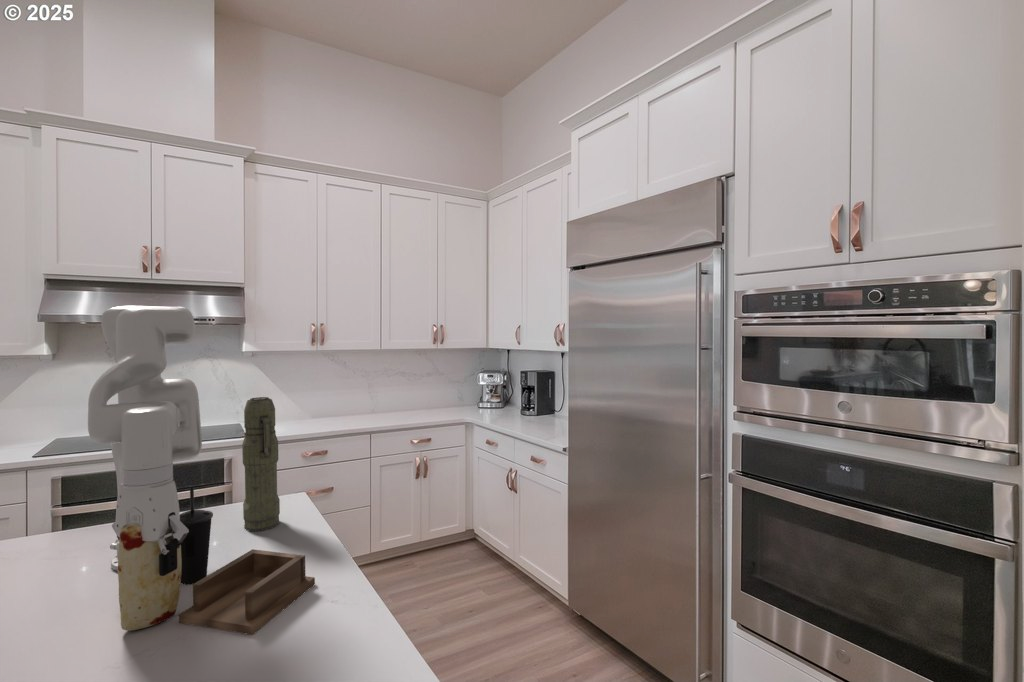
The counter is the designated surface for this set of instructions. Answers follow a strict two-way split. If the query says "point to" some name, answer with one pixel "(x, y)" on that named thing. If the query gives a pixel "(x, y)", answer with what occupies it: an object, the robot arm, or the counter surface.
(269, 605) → the dock
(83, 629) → the counter surface
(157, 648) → the counter surface
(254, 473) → the thermos
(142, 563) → the food model
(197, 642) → the counter surface
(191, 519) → the drinking cup
